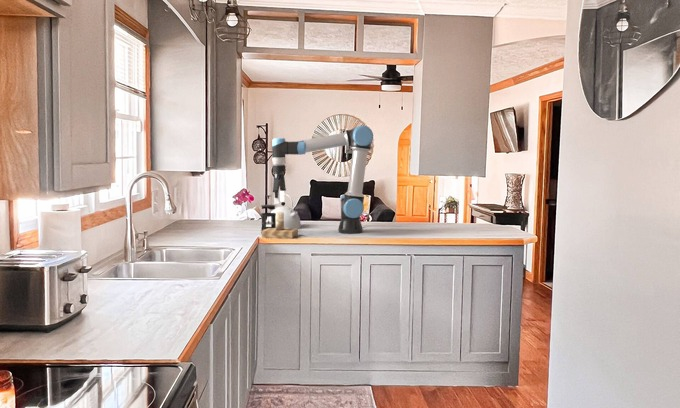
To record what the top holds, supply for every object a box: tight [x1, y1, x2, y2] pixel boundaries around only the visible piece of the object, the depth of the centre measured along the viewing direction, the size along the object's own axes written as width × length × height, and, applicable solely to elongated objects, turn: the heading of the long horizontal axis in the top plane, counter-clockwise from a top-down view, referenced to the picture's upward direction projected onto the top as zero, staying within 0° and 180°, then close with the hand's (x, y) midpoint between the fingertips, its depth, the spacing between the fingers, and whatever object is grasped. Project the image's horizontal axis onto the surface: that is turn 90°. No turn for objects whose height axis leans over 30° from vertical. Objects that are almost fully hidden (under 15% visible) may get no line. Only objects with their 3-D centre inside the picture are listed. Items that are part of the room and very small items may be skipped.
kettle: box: [266, 193, 302, 230], centre depth 363 cm, size 25×23×23 cm
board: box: [261, 228, 299, 240], centre depth 327 cm, size 18×14×4 cm
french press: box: [260, 194, 277, 235], centre depth 339 cm, size 12×9×23 cm
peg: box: [276, 212, 284, 231], centre depth 327 cm, size 5×5×14 cm
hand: (279, 202), depth 326 cm, fingers open, 11 cm apart
